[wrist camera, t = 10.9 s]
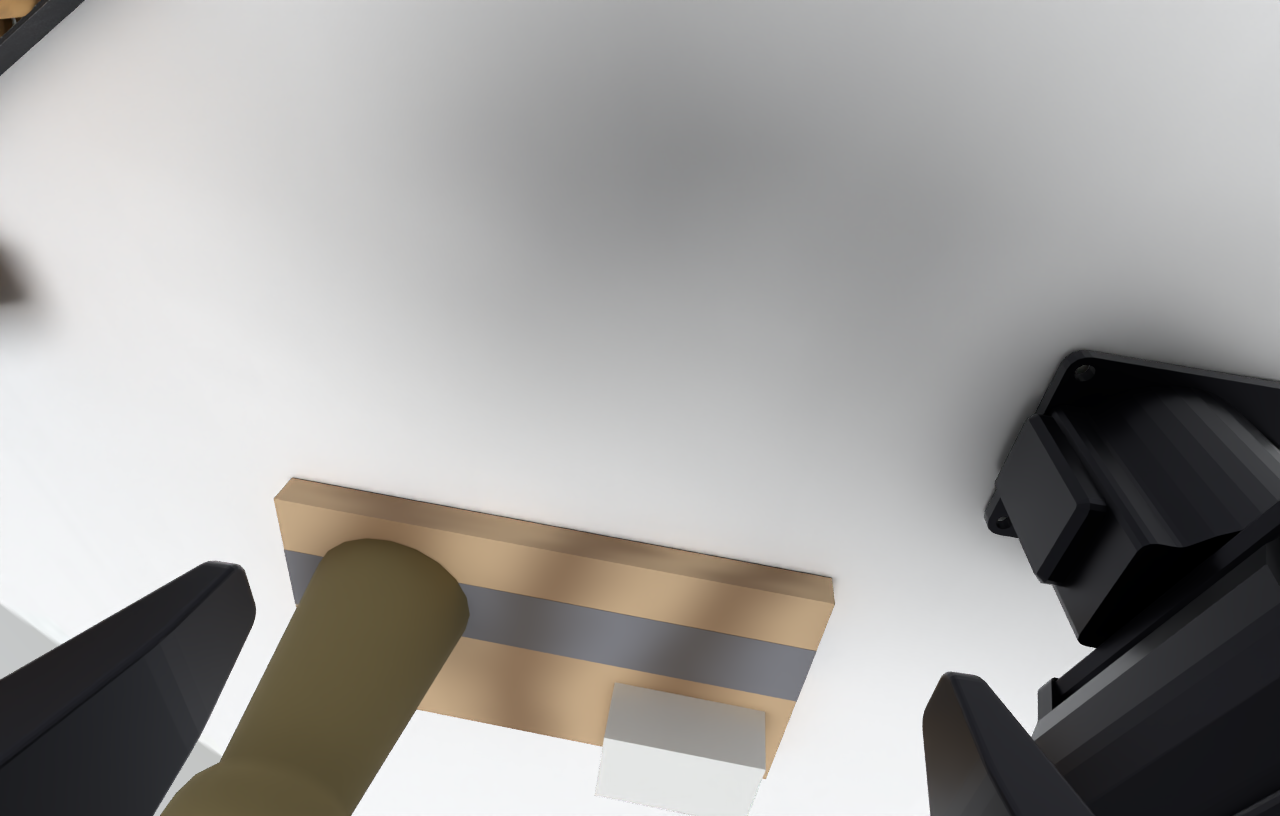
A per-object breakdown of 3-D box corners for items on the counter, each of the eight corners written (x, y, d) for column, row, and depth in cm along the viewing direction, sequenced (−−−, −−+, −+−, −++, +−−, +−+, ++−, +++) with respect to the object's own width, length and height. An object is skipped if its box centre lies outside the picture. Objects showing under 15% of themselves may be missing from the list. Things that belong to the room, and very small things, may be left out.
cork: (337, 513, 26) (102, 831, 16) (492, 584, 26) (352, 924, 17) (301, 609, 29) (88, 921, 20) (440, 670, 30) (299, 995, 20)
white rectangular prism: (765, 711, 28) (765, 770, 26) (744, 768, 30) (743, 825, 28) (614, 682, 29) (603, 737, 27) (605, 740, 31) (594, 795, 29)
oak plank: (832, 578, 26) (834, 604, 25) (765, 752, 32) (765, 779, 31) (291, 477, 27) (273, 499, 26) (327, 665, 33) (313, 689, 32)
